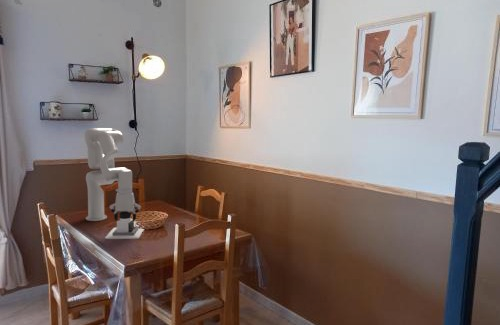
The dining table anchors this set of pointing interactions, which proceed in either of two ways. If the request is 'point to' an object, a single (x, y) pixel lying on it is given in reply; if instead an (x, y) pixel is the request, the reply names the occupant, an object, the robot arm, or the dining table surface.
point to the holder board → (125, 234)
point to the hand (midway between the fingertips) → (125, 220)
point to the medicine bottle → (125, 222)
